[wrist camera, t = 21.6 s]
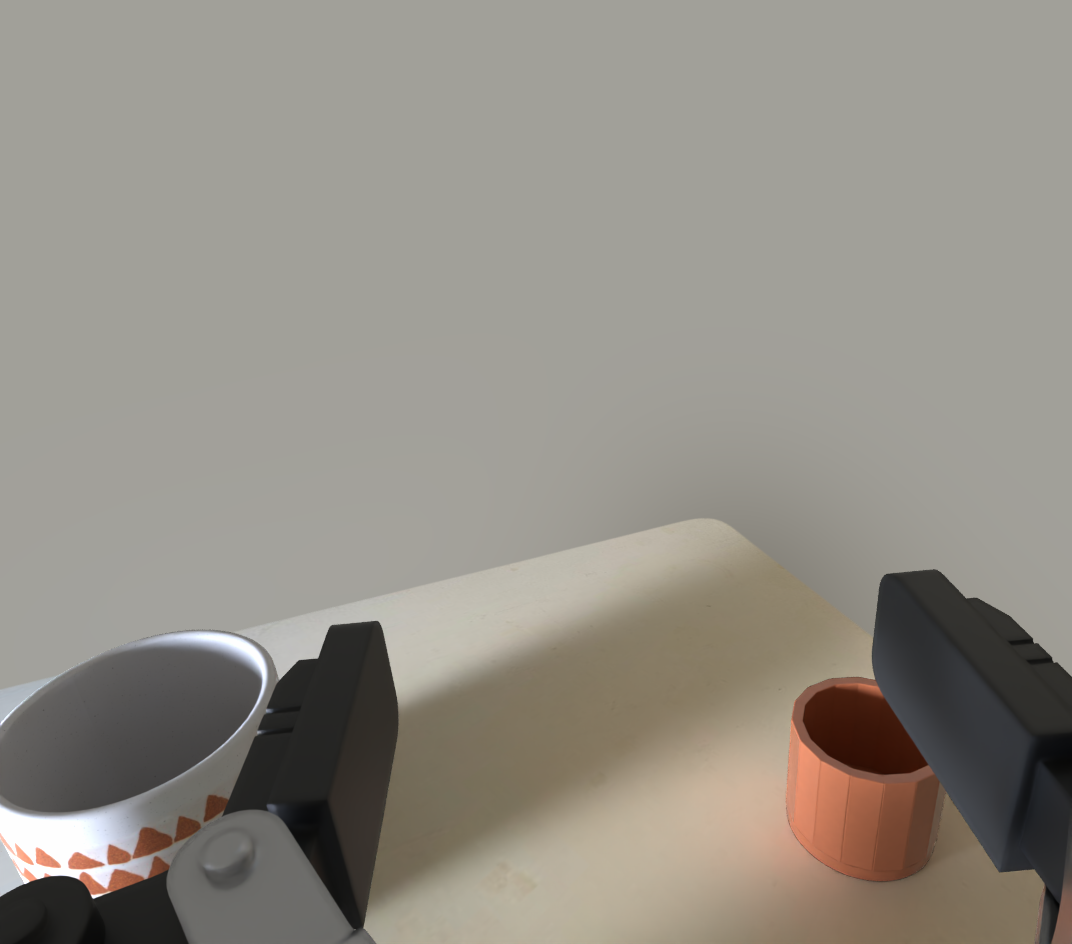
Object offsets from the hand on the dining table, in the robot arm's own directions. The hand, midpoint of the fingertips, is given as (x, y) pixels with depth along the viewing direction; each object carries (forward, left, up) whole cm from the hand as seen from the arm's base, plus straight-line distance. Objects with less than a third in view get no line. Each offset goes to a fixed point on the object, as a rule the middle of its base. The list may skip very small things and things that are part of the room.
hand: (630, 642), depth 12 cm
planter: (+29, -9, -30) cm, 43 cm away
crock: (-5, -25, -30) cm, 39 cm away
